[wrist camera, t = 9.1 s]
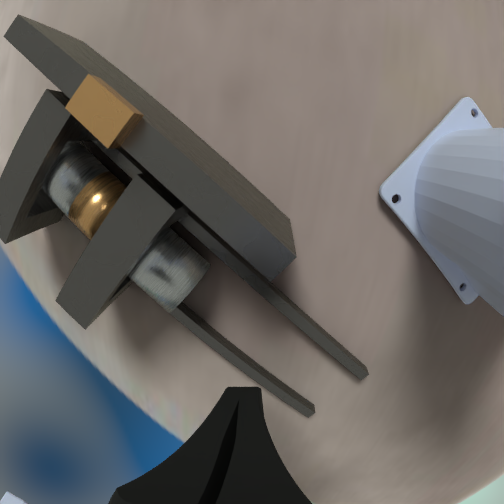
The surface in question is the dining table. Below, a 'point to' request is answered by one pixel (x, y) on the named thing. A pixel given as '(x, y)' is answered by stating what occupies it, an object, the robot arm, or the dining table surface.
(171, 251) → the tube
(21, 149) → the collar fixture
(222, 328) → the dining table surface
